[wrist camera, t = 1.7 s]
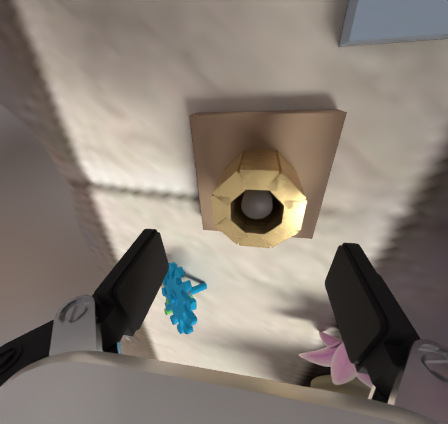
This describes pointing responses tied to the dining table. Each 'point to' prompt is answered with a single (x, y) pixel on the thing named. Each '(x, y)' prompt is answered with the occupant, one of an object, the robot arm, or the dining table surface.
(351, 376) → the lily
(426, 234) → the dining table surface
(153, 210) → the dining table surface
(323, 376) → the pitcher
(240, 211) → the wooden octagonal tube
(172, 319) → the gear
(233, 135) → the rod stand
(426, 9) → the hub plate
